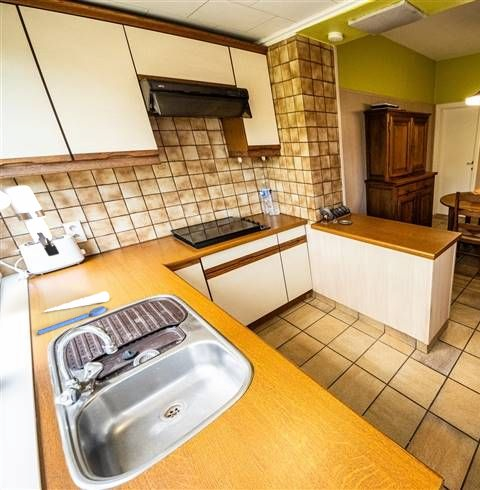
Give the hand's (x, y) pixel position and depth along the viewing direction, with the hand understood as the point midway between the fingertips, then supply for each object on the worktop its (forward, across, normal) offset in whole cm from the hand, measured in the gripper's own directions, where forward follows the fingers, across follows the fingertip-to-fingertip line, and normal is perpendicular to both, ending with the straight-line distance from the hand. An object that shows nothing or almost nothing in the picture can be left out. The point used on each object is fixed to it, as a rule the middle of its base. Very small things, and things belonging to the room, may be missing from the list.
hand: (54, 254), depth 119 cm
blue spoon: (+22, +27, -1) cm, 35 cm away
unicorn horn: (+22, +13, 0) cm, 26 cm away
